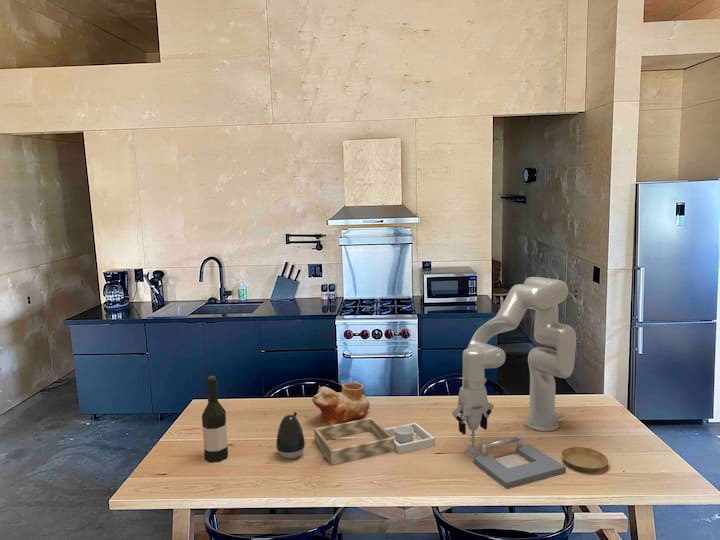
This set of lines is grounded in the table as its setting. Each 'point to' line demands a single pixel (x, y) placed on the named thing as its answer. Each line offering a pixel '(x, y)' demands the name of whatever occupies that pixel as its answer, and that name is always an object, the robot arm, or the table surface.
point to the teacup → (404, 434)
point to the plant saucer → (584, 458)
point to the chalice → (473, 430)
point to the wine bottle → (214, 426)
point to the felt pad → (511, 461)
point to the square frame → (415, 445)
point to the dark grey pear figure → (290, 437)
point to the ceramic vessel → (341, 404)
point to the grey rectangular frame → (521, 467)
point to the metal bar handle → (501, 443)
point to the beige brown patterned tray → (355, 451)
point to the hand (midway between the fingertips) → (473, 430)
